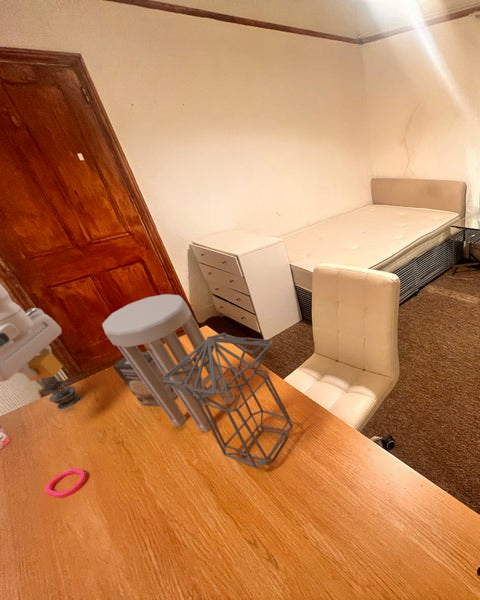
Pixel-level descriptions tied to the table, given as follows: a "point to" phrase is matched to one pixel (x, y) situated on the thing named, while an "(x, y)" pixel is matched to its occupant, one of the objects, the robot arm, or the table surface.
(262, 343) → the geometric lantern
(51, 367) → the yellow block
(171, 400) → the stool
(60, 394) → the dark gray tiered ornament
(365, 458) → the table surface
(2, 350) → the robot arm
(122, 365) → the coffee box
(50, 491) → the fitness band
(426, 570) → the table surface
